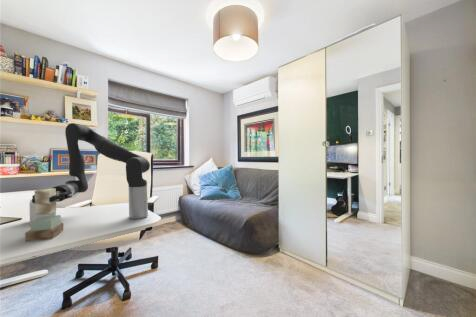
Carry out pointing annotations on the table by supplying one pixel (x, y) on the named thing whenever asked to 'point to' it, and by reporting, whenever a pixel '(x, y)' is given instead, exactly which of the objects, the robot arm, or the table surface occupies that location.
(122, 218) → the table surface
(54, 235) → the bottom block
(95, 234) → the table surface
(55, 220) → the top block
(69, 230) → the table surface
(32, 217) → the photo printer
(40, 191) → the ash block
